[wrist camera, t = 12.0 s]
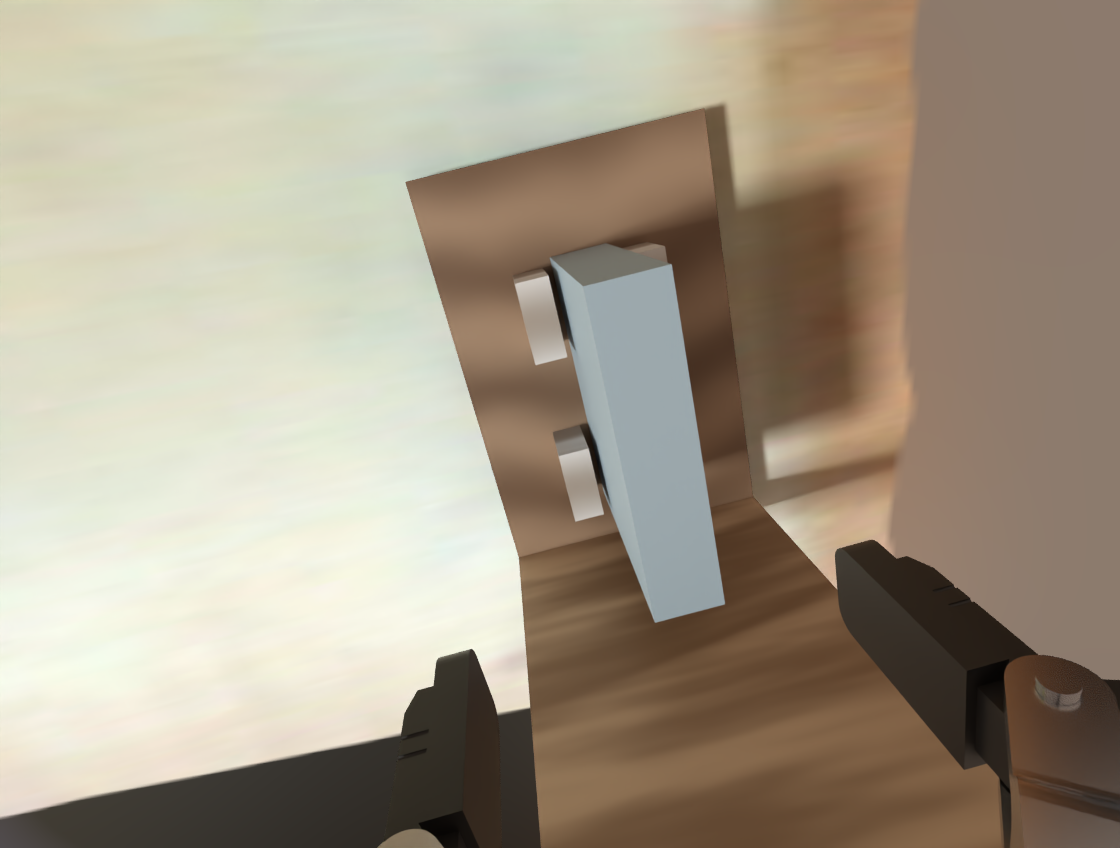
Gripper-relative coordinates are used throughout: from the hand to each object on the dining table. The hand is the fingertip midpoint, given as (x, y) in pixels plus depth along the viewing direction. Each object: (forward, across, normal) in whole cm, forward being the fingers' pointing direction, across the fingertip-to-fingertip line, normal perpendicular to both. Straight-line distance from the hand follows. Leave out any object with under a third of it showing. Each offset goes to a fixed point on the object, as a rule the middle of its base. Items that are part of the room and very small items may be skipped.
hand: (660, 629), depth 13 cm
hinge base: (+23, -2, +1) cm, 23 cm away
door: (+21, -2, +1) cm, 22 cm away
